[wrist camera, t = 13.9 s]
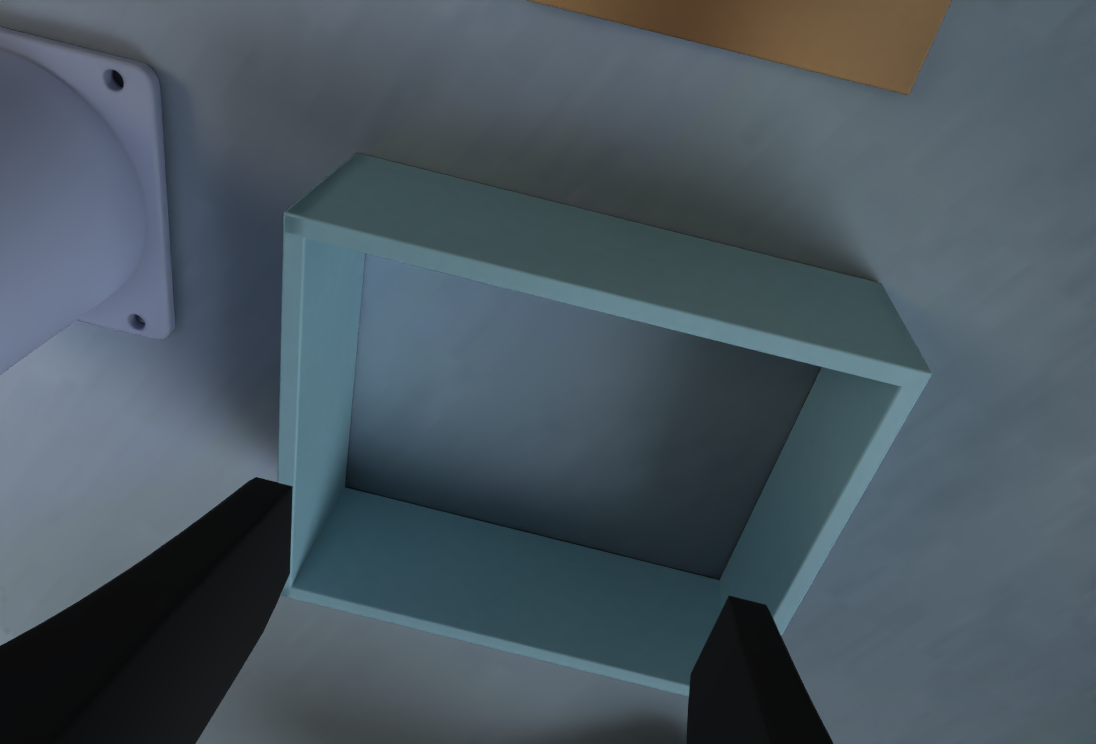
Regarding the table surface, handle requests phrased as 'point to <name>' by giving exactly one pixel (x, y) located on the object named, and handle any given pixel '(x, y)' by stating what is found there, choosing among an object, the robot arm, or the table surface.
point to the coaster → (795, 31)
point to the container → (602, 285)
